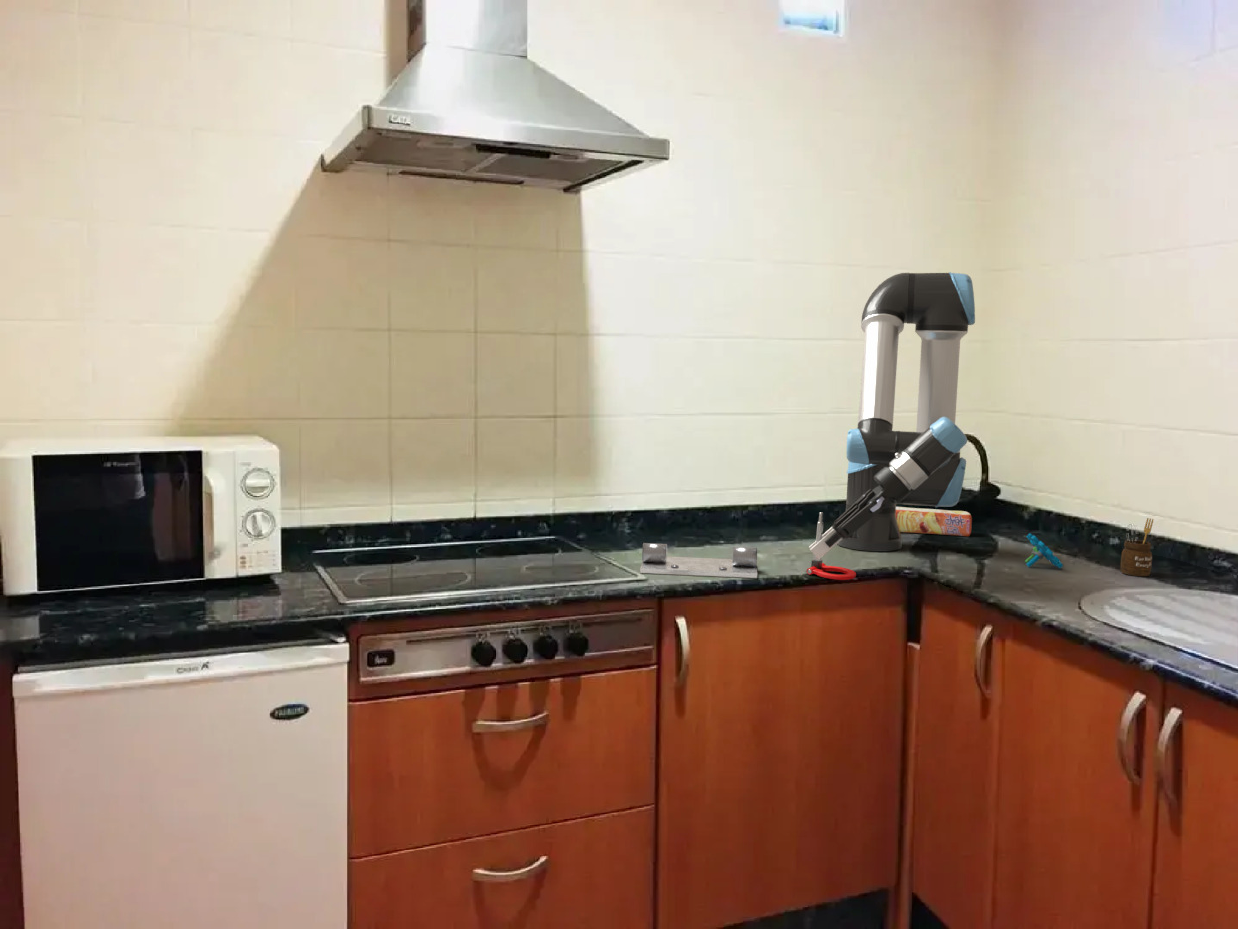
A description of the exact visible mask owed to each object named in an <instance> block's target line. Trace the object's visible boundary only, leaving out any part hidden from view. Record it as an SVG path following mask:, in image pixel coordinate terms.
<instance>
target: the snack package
mask: <svg viewBox="0 0 1238 929" xmlns="http://www.w3.org/2000/svg"><path fill="white" fill-rule="evenodd" d="M896 519H897V523H898V527H899V530H900V533H907V534H908V533H909V534H923V535H925V534H926V535H927V534H929V535H944V536H954V537H955V536H957V537H970V536H971V534H972V523H973V517H972V515H971V513H970V512H968V511H966V510H965V511H964V510H948V509H937V508H935V509H934V508H919V507H917V508H916V507H905V506H896Z"/></svg>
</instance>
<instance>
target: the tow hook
mask: <svg viewBox="0 0 1238 929" xmlns="http://www.w3.org/2000/svg"><path fill="white" fill-rule="evenodd" d="M818 515H819V516H818V521H817V525H816V526H817V527H816V537H815V538H816V539H815V541H816V544H817V543H818V542H819V541H820V540H821V539H822V535H823V531H824V522H823V519H824V518H823V517H824V512H819V513H818ZM810 564H811V565H810V567H809V568H808V567H807V569H806V573H807V574H808V576H809V575H817V576H818V577H821V578H825V579H830V580H838V581H846V580H848V581H849V580H853V579H855V578H856V576H857V573H856V571H854V570H853V569H850V568H846V567H842V566H835V565H826V563H824V562H823V559H822V557H821V558H820V559H818V558H817V557H816V556H815V555H814V554H813V558H812V560H811V563H810ZM829 572H830V573H829ZM831 572H836V573H838V572H839V573H842V574H836V573H831Z"/></svg>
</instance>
